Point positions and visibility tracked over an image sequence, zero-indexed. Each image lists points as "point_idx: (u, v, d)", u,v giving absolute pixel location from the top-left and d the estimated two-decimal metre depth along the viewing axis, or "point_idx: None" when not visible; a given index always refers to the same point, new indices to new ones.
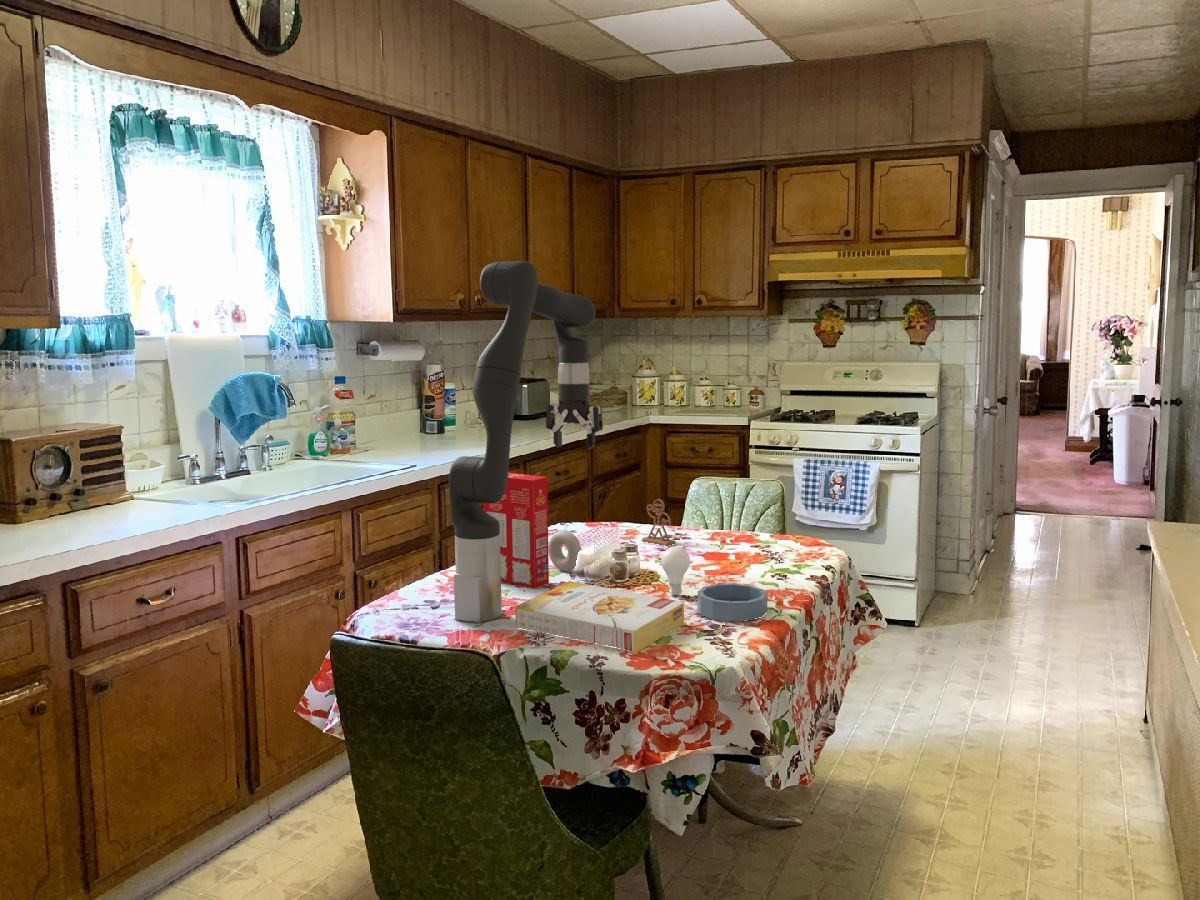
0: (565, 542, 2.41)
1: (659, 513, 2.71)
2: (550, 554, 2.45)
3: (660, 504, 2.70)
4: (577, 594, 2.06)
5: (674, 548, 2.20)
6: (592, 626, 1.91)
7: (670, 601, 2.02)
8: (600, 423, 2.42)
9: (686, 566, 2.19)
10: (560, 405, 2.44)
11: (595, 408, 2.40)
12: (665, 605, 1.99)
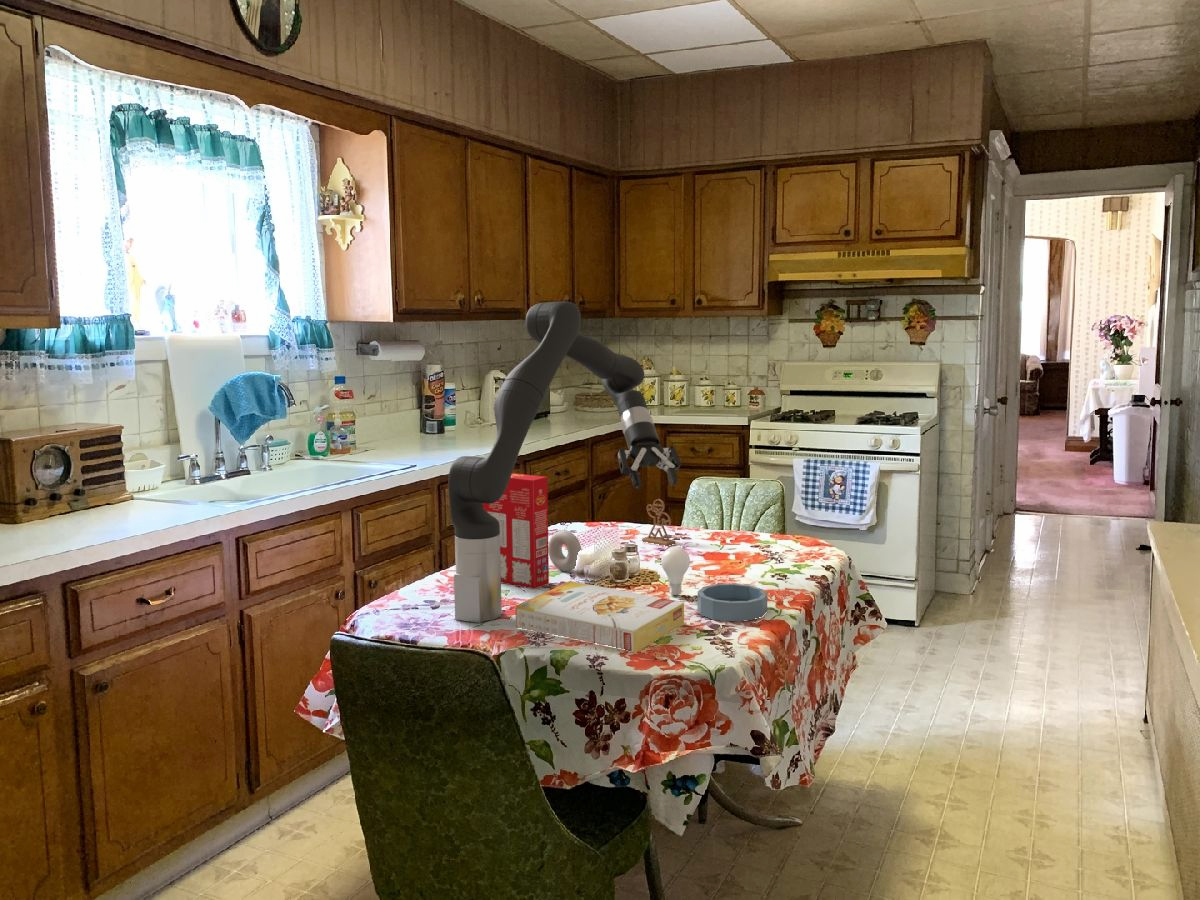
0: (565, 542, 2.41)
1: (659, 513, 2.71)
2: (550, 554, 2.45)
3: (660, 504, 2.70)
4: (577, 594, 2.06)
5: (674, 548, 2.20)
6: (591, 625, 1.91)
7: (670, 601, 2.02)
8: None
9: (686, 566, 2.19)
10: (634, 447, 2.35)
11: (672, 446, 2.38)
12: (664, 605, 1.99)
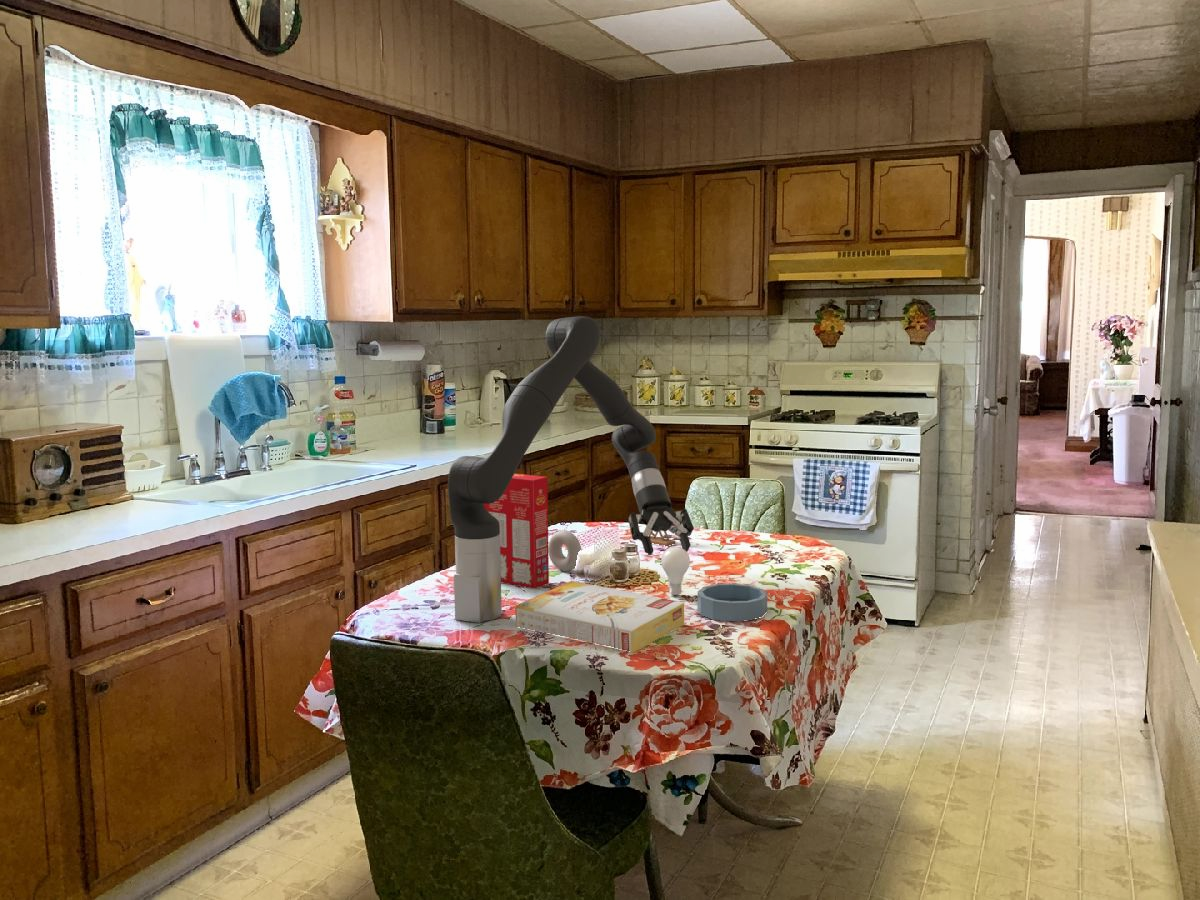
0: (565, 542, 2.41)
1: None
2: (550, 554, 2.45)
3: None
4: (578, 594, 2.06)
5: (674, 548, 2.20)
6: (590, 625, 1.91)
7: (670, 601, 2.02)
8: (688, 528, 2.31)
9: (686, 566, 2.19)
10: (645, 511, 2.29)
11: (684, 509, 2.32)
12: (664, 606, 1.99)
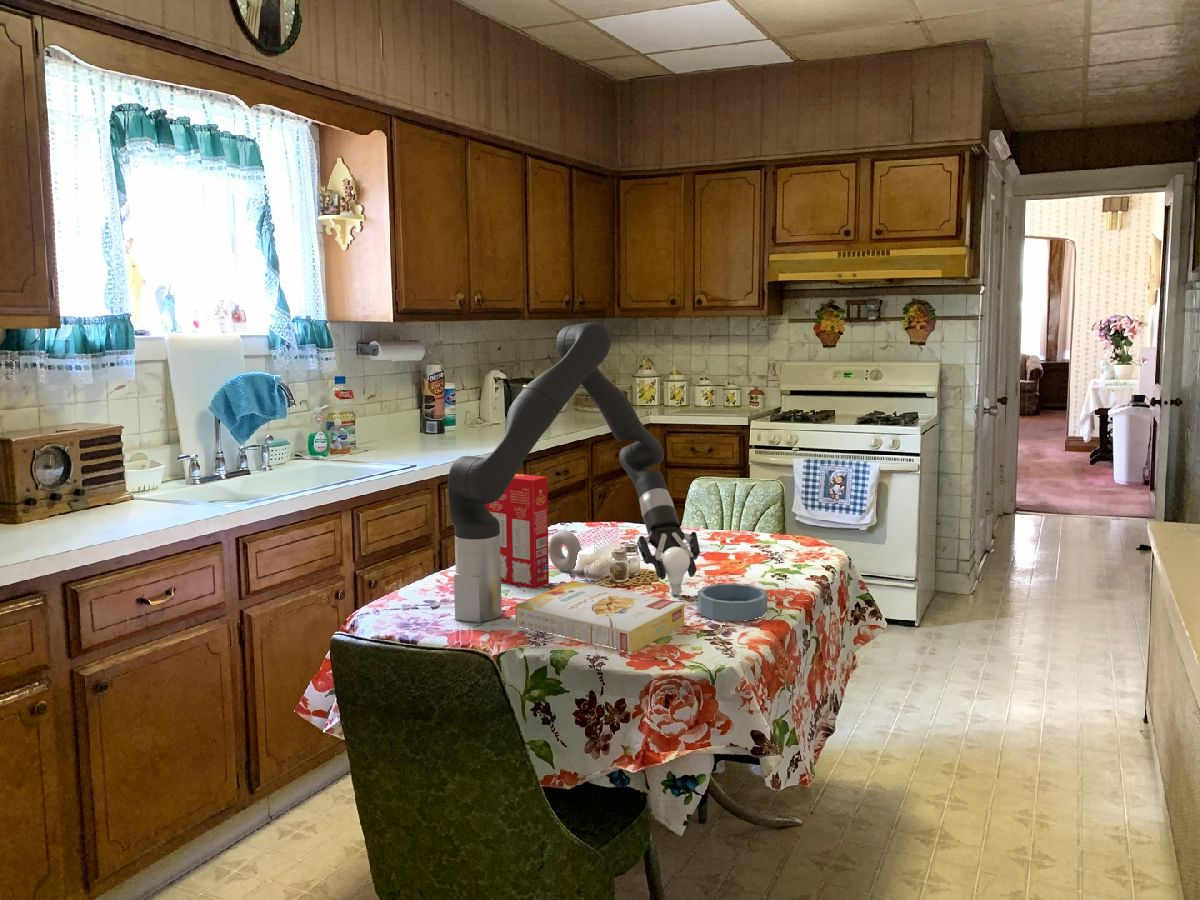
0: (565, 542, 2.41)
1: None
2: (550, 554, 2.45)
3: None
4: (578, 594, 2.06)
5: (674, 548, 2.20)
6: (589, 625, 1.91)
7: (670, 602, 2.02)
8: None
9: (686, 566, 2.19)
10: (653, 533, 2.25)
11: (694, 532, 2.27)
12: (664, 606, 1.99)
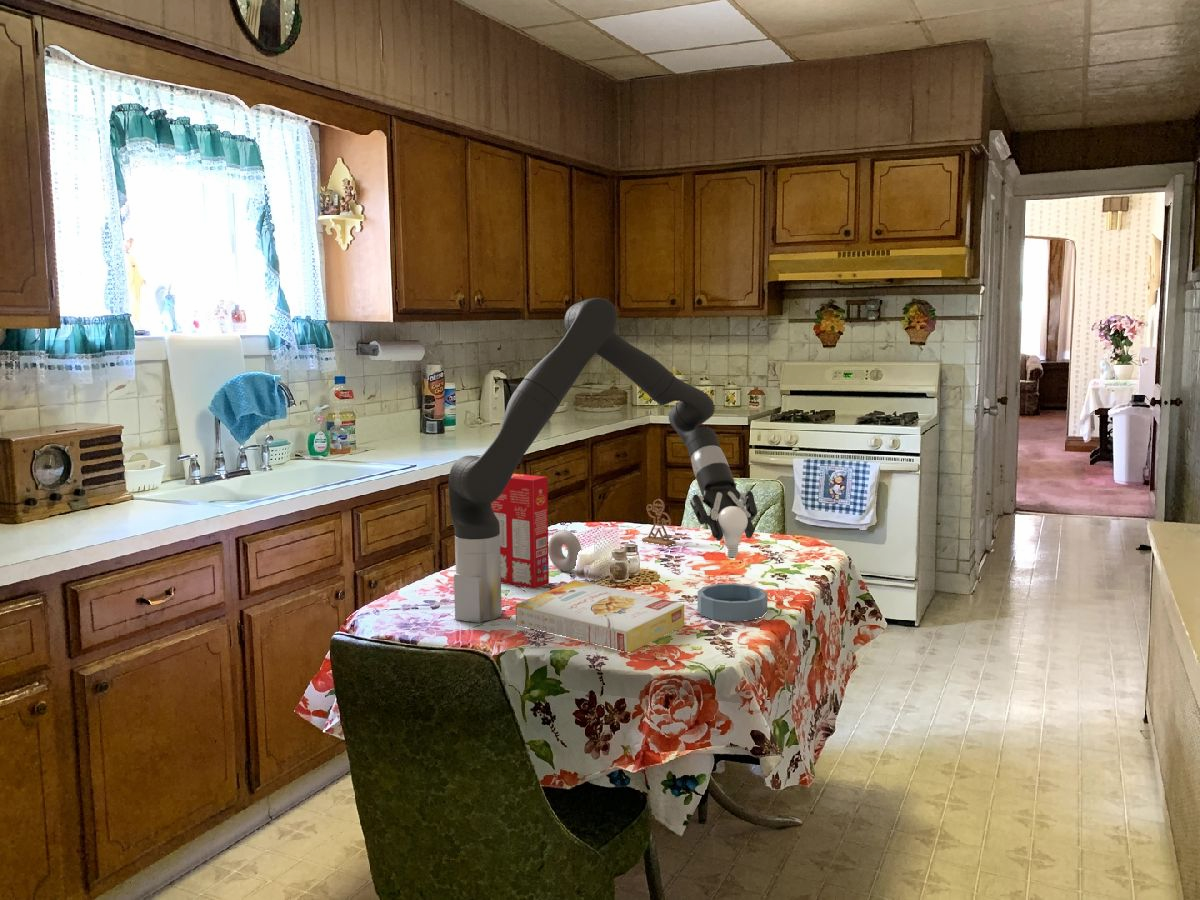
0: (565, 542, 2.41)
1: (659, 513, 2.71)
2: (550, 554, 2.45)
3: (660, 504, 2.70)
4: (579, 593, 2.07)
5: (731, 507, 2.08)
6: (587, 625, 1.91)
7: (670, 602, 2.01)
8: None
9: (744, 526, 2.07)
10: (707, 492, 2.12)
11: (750, 492, 2.14)
12: (663, 607, 1.98)
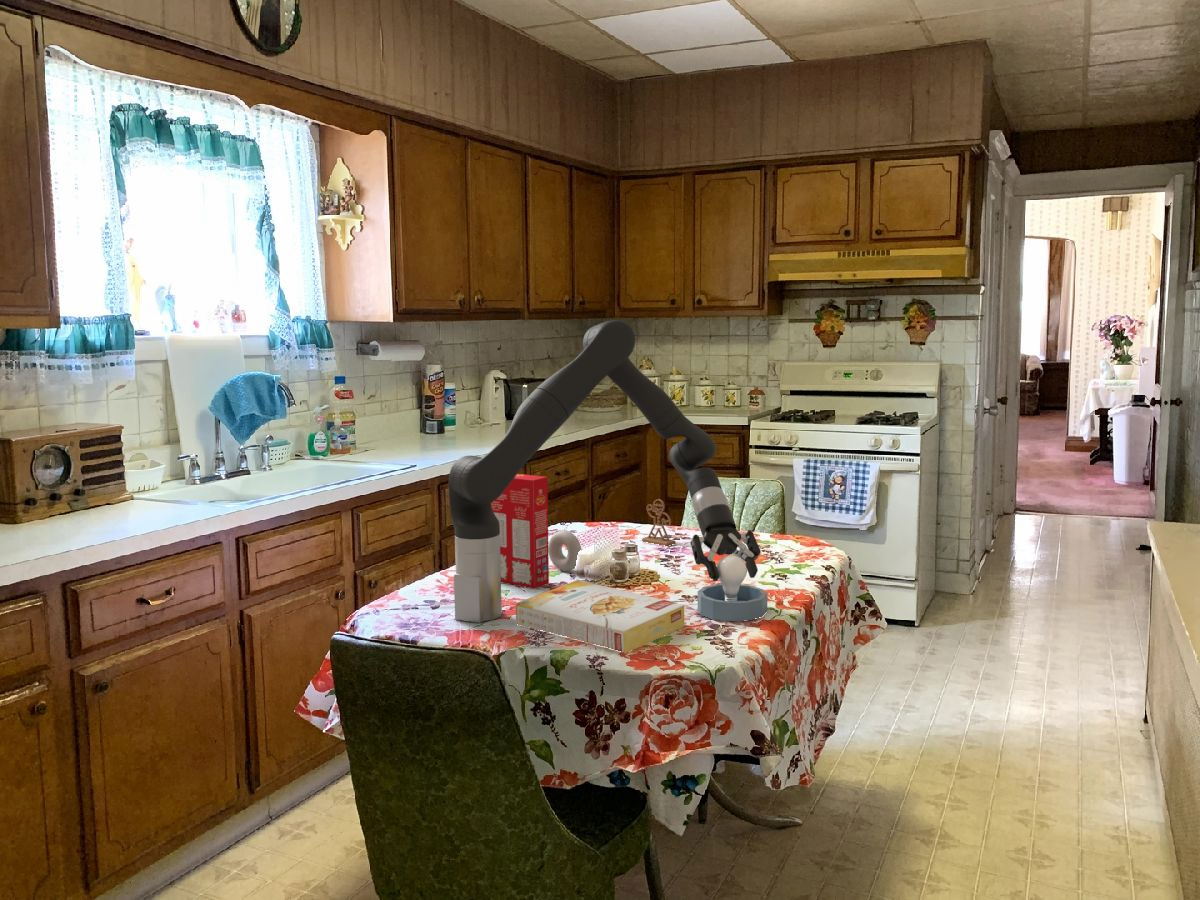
0: (565, 542, 2.41)
1: (659, 513, 2.71)
2: (550, 554, 2.45)
3: (660, 504, 2.70)
4: (580, 593, 2.07)
5: (730, 556, 2.09)
6: (585, 625, 1.91)
7: (670, 603, 2.01)
8: None
9: (743, 575, 2.08)
10: (708, 533, 2.13)
11: (750, 531, 2.15)
12: (663, 607, 1.98)
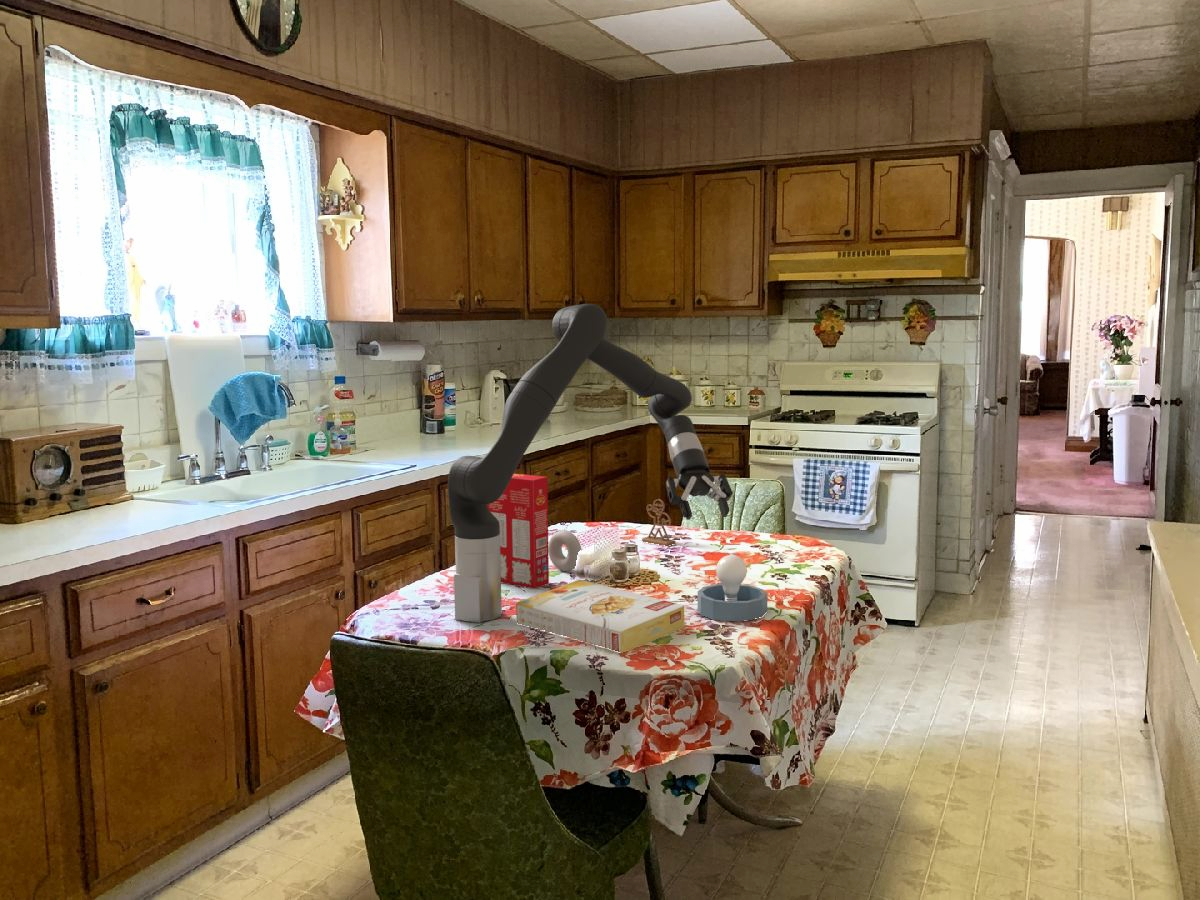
0: (565, 542, 2.41)
1: (659, 513, 2.71)
2: (550, 554, 2.45)
3: (660, 504, 2.70)
4: (580, 593, 2.07)
5: (730, 556, 2.09)
6: (583, 624, 1.91)
7: (670, 604, 2.01)
8: None
9: (743, 575, 2.08)
10: (683, 476, 2.24)
11: (723, 474, 2.26)
12: (662, 608, 1.98)
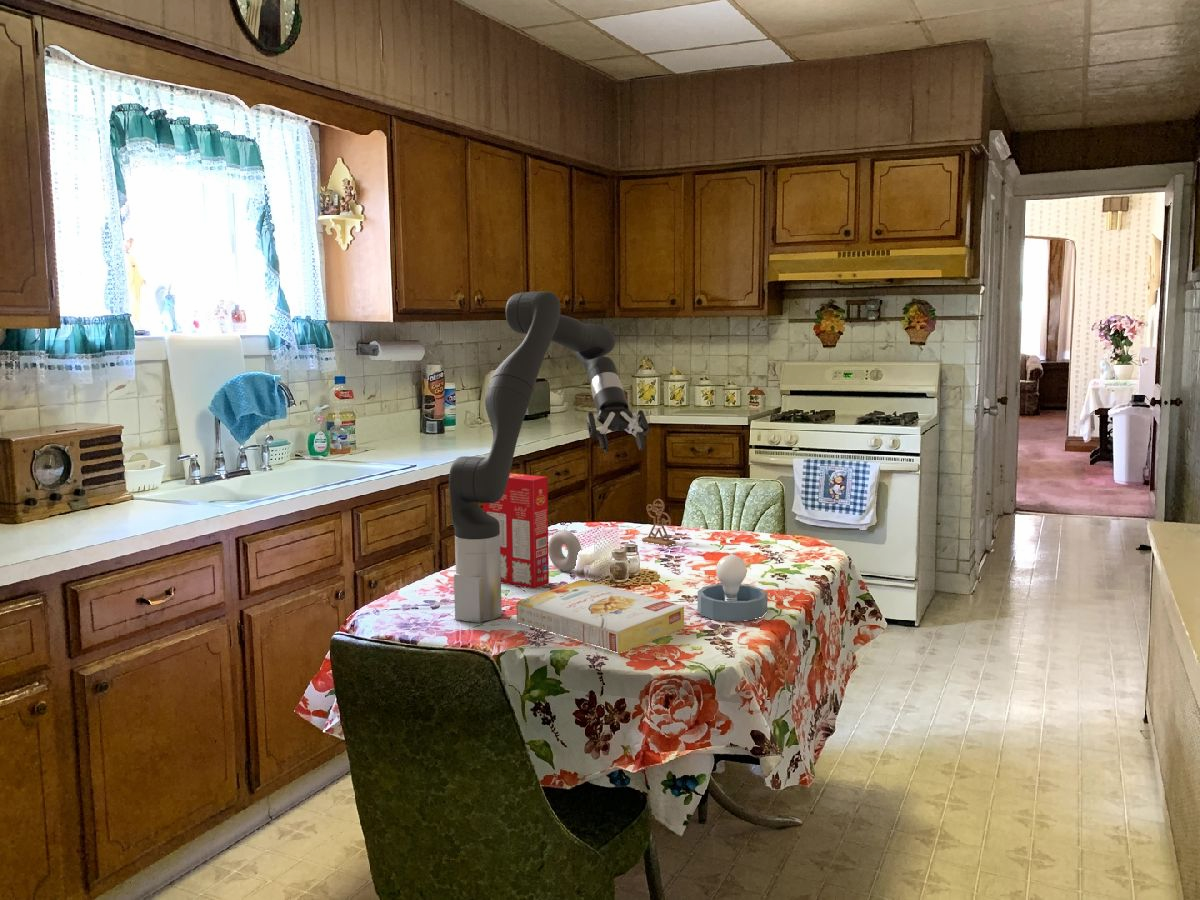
0: (565, 542, 2.41)
1: (659, 513, 2.71)
2: (550, 554, 2.45)
3: (660, 504, 2.70)
4: (581, 593, 2.07)
5: (730, 556, 2.09)
6: (581, 624, 1.92)
7: (670, 604, 2.00)
8: None
9: (743, 575, 2.08)
10: (602, 412, 2.37)
11: (641, 411, 2.40)
12: (662, 608, 1.97)
